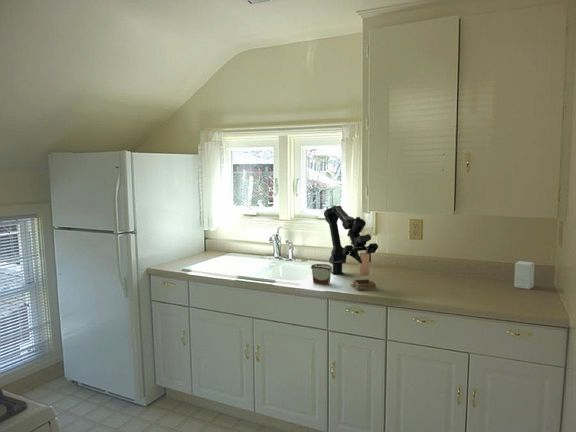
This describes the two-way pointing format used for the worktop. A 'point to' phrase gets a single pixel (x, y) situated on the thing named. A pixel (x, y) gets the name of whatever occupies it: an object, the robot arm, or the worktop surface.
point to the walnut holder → (364, 285)
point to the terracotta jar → (364, 264)
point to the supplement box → (524, 274)
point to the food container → (321, 273)
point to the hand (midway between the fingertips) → (365, 262)
